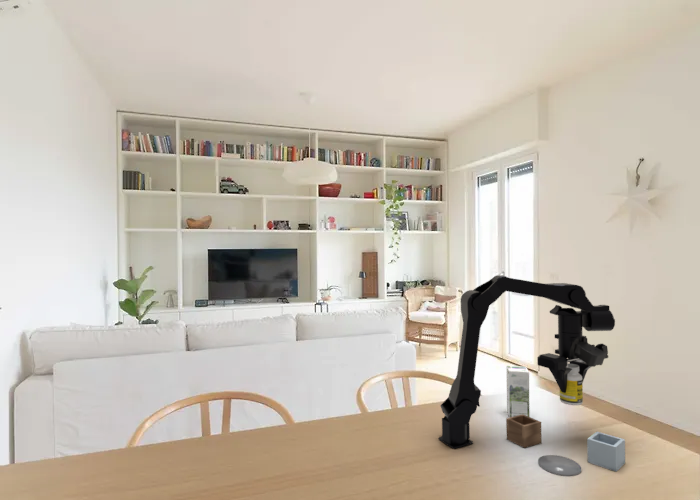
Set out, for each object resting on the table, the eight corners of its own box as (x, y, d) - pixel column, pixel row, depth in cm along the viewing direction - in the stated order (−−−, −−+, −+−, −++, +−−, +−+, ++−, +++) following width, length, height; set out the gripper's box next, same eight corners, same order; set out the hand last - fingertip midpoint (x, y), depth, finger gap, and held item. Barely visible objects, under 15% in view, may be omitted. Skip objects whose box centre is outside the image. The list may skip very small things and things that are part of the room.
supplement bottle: (581, 407, 110) (580, 369, 110) (557, 403, 113) (556, 366, 113) (584, 401, 114) (583, 364, 114) (562, 397, 117) (561, 361, 117)
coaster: (563, 479, 94) (563, 478, 94) (529, 461, 102) (529, 460, 102) (590, 470, 98) (590, 468, 98) (555, 453, 106) (555, 451, 106)
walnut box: (524, 448, 109) (524, 426, 109) (506, 439, 114) (506, 418, 114) (541, 443, 112) (541, 422, 112) (523, 434, 117) (522, 414, 117)
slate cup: (616, 471, 97) (615, 447, 97) (587, 462, 101) (587, 438, 101) (625, 462, 101) (624, 439, 101) (597, 453, 105) (597, 431, 105)
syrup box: (526, 412, 132) (525, 365, 132) (530, 420, 126) (529, 371, 126) (506, 411, 133) (506, 364, 133) (509, 419, 128) (508, 370, 128)
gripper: (574, 340, 102) (575, 406, 102) (622, 333, 110) (623, 393, 110) (535, 333, 112) (536, 392, 112) (582, 326, 120) (583, 382, 120)
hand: (570, 390), depth 114 cm, fingers closed on supplement bottle, 5 cm apart
